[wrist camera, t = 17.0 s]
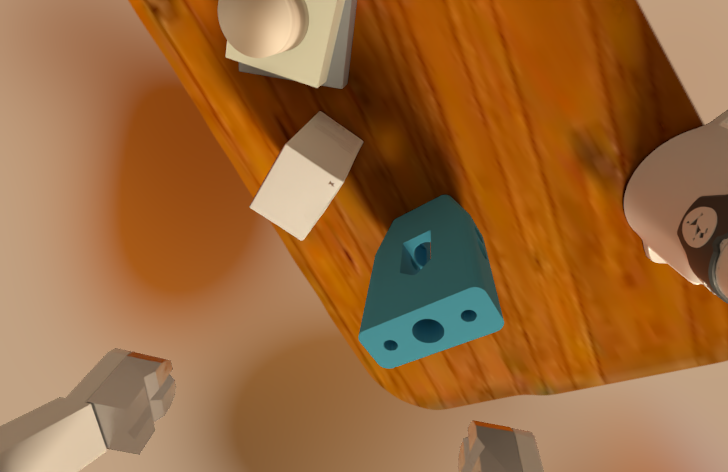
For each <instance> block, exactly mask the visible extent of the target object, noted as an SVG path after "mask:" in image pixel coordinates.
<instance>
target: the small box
mask: <svg viewBox="0 0 728 472" xmlns="http://www.w3.org/2000/svg"><path fill="white" fill-rule="evenodd" d="M362 144H363V140H361V139H360V138H358V137H357V136H356V135H354V134H353V133H351V132H350V131H348V130H347V129H346V128H344V127H343V126H341V125H340V124H338V123H337V122H336V121H334V120H333V119H331V118H330V117H328V116H327V115H326V114H324V113H323V112H321V111H319V112H318V113H317V114H316V115H315V116H314V117H313V118H312V119H311V120H310V121H309V122H308V123H307V124H305V125H304V126H303V127H302V128H301V129H300V130H299V131H298V132H297V133H296V134H295V135H294V136H293V137H292V138H291V139H290V140H289V141H288V142H287V143H285V145H284V146H283V148H282V150H281V151H280V153H279V155H278V157H277V158H276V160H275V162H274V163H273V165H272V167H271V169H270V171H269V172H268V174H267V176H266V178H265V179H264V181H263V183H262V185H261V187H260V188H259V190H258V192H257V194H256V195H255V197H254V199H253V201H252V203H251V204H250V206H249V207H250V208H251V209H253V210H254V211H256V212H257V213H259V214H261V215H262V216H264V217H265V218H267V219H268V220H270V221H272V222H273V223H275V224H276V225H278V226H279V227H281V228H282V229H284V230H286V231H287V232H289V233H290V234H292V235H293V236H295V237H296V238H298V239H299V240H301V241H302V240H304V238H305V237H306V236H307V234H308V233H309V232H310V230H311V229H312V228H313V226H314V225H315V224H316V222H317V221H318V219H319V218H320V217H321V215H322V214H323V213H324V211H325V210H326V209H327V207H328V205H329V204H330V202H331V201H332V199H333V198H334V196H335V195H336V193H337V192H338V190H339V189H340V187H341V186H342V184H343V183H344V181H345V179H346V177H347V175H348V173H349V171H350V169H351V167H352V164H353V162H354V160H355V158H356V156H357V154H358V152H359V150H360V148H361V146H362Z"/></svg>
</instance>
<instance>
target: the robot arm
mask: <svg viewBox="0 0 728 472" xmlns="http://www.w3.org/2000/svg"><path fill="white" fill-rule="evenodd" d="M624 212H625V216H626V219H627V221H628V223H629V225H630V226H631V227H632V229H633V230H634V231H635V232H636V233H637V234H638V235H639V236H640V237H641V239H642V240H643V245H644V250H645V253H646V255H647V257H648V258H649V259H651V260H652V261H653V262H655V263H668V264H669V265H670V266H671V267H672V268H674V269H675V270H676V271H677V272H678V273H680V274H681V275H682V276H683V277H685V278H686V279H687V280H688V281H690V282H691V283H693V284H696V285H699V284H703V285H704V286H705V287H706V288H707V289H708V290H710V291H711V292H712V293H713V294H715V295H717V296H718V297H719V298H721V299H722V300H723V301H725V302H726V303H728V110H727V111H726V112H724V113H722V114H721V115H720V116H718V117H717V118H716V119H714V120H713V121H711V122H710V123H708V124H706V125H704V126H701V127H699V128H696V129H693V130H690V131H687V132H685V133H682V134H680V135H678V136H676V137H674V138H672V139H670V140H668V141H667V142H665V143H664V144H662V145H661V146H659V147H658V148H657V149H655V150H654V151H653V152H652V153H651V154H649V155H648V156H647V157H646V158H645V159H644V160H643V162H642V163H641V164H640V165H639V166H638V168H637V169H636V170H635V172H634V173H633V175H632V177H631V179H630V181H629V183H628V185H627V188H626V191H625V196H624ZM172 370H173V367H172V363H171V360H167V359H162V358H158V357H153V356H149V355H144V354H140V353H135V352H131V351H126V350H121V349H117V348H115V349H113V350H111V351H109V352H108V353H107V354H106V355H105V356H104V357H103V358H102V359H101V360H100V362H99V363H98V364H97V365H96V366H95V367H94V368H93V369H92V370H91V371H90V372H89V373H88V374H87V375H86V377H84V379H83V380H82V381H81V382H80V383H79V384H78V385H77V386H76V387H75V388H74V389H73V390H72V391H71V393H70V394H69V395H68V396H67V397H66V398H61V397H59V398H57V399H55V400H53V401H51V402H49V403H47V404H45V405H43V406H41V407H39V408H37V409H35V410H33V411H31V412H29V413H27V414H24V415H22V416H21V417H18V418H16V419H14V420H12V421H10V422H8V423H6V424H4V425H2V426H0V472H79V471H80V470H81V469H83V468H84V467H85V466H87V465H88V464H89V463H91V462H92V461H94V460H95V459H96V458H98V457H99V456H101V455H102V454H103V453H104V452H106V451H107V449H112V450H117V451H123V452H128V453H133V454H140V453H141V451H142V449H143V448H144V447H145V445H146V443H147V442H148V440H149V439H150V437H151V436H152V434H153V433H154V431H155V427H154V421H156V420H158V419H160V418H161V417H163V416H164V415H165V414H166V412H167V411H168V409H169V408H170V406H171V403H172V401H173V398H174V395H175V389H176V384H175V380H174V379H173V378H172V377H171V375H170V372H171V371H172ZM458 469H459V472H544V470H543V467H542V463H541V459H540V455H539V451H538V447H537V444H536V440H535V437H534V435H533V434H532V432H529V431H524V430H518V429H513V428H510V427H505V426H500V425H495V424H489V423H484V422H479V421H472V422H470V424H469V427H468V437H466V438H464V439H463V441H462V443H461V446H460V451H459V459H458Z"/></svg>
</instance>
